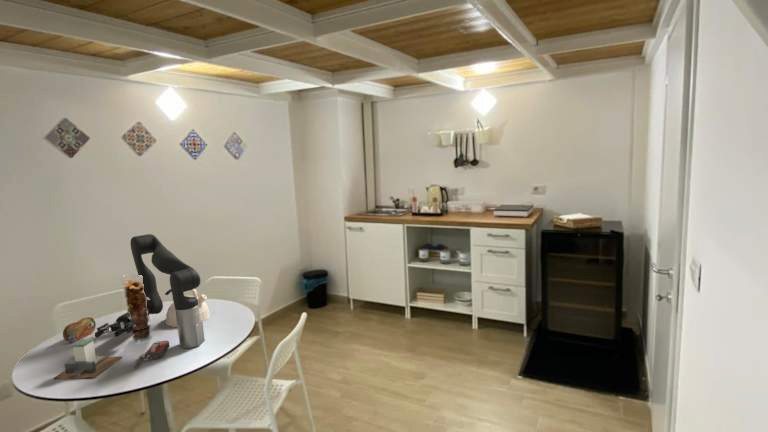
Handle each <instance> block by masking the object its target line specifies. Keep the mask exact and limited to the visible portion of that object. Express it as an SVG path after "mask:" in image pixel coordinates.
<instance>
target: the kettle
mask: <svg viewBox="0 0 768 432" xmlns="http://www.w3.org/2000/svg"><path fill="white" fill-rule="evenodd" d="M190 291H191V292H192V294H193V295H188V296H189V297H196V298H197V299H198V306H199V314H200V320H202V322H205V321H206V320H207V319H209V317H210V316H211V315H210V314H211V313H210V311H209V306H208V304H207V303H206V300H207V299H208V297H207V295H206V294H202V293H201V294H200V296H198V292H197V290H196V288H195V289H193V290H190ZM171 293H172V291H171V288H170V289H168V290H167V291H166V292H165V293H164V295H165V296H169V295H170V294H171ZM166 311H167V312H166V314H165V320H166V321H165V322H166V325H167V326H168V327H174V328H177V321H176V313H175V305H174V302H172V303H171V304H170V305H169V307H168V309H167V310H166Z"/></svg>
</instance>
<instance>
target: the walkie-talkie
mask: <svg viewBox="0 0 768 432" xmlns="http://www.w3.org/2000/svg"><path fill="white" fill-rule="evenodd" d="M169 348H170V341H169V340H160V341H155V342H153V343H152V344H151V346H150V347H149V348H148V349H146V350H144V351H142V353H141V354H140V355H138V360H137V361H136V363H135V364H134V365H133V368H134V369H136V368H138V367H139V365H140V363H141V362H142V361H150V360H151V361H152V360H158V359H162V358H163V357H164V356H165V355H166V352H167V351H168V350H169Z"/></svg>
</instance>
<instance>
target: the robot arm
mask: <svg viewBox="0 0 768 432" xmlns="http://www.w3.org/2000/svg"><path fill="white" fill-rule="evenodd" d="M129 244H130V250H131V255H132V258H133V262H134V266H135V268H136V272H137V275H142V276H143V284H144V292H145V294H146V298H148V299H146V300H147V311H148V317H149V316H150V315H157V314H160V313H161V312H162V310H163V308H164V303H163V300H162V298H161V296H160V293H159V291H158V288H157V279H156V275H155V274H154V272H152V271H151V269H150V268H149V267H148V266H147V265H146V263H144V260H143V257H142V255H146V254H152V255H151V260H150V261H151V264H152V266H153V267H155V269H156V270H158V271H159V272H161V273H163V274H165V275H169V286H170V289H171V291H172V292H171V294H172V295H171V296H172V301H173V302H174V305H175V313H176V321H177V327H176V328H177V336H178V341H179V347H180V348H181V349H193V348H197V347H200V346H201V344H203V343H204V342H205V341H206V339H205V338H206V337H205V332H204V331H205V330H204V323H203V322H204V321H202V320H200V314H199V306H198V299H197V298H196V297H189V296H190V295H185V292H188V291H191V290H193V289H195V290H196V289H197V288H199V286H200V285H201V277H200V274H199V273H198V271H197V270H196V269H194V268H193V267H192V266H190V265H189V264H186V263H185V262H183V261H182V260H181V259H180V258H178V257H177V256H176V255H175V254H174V253H173V252H171V251H170V250H169V249H167V247H165V246H164V244H163V243H162V242H161V241H160V240H159V239H158V238H157V237H156V235H154V234H151V233H150V234H149V233H147V234H143V235H142V234H141V235H135V236H133V237H132V238H131V239H130V243H129ZM173 302H172V303H173ZM136 328H137V326H136V322H134V320H133V318H132V317H131V315H130V314H129V312H128V311H127V312H125V313H123V314H121V315H120V316H118V317H117V318H116V320H115V321H114V322H112V323H111V324H109V322H106V323H105V324H102V325H101V326H98V327H96V330H97V331H96V332H94V338H95V339H96V338H97V339H98V338H99V337H101V336H103V335H105V334H111V333H113V334H114V337H115V338H117V337H119V336H121V335H123V334H125V333H127V334H129V333H131V332H132V331H134V330H135V329H136Z"/></svg>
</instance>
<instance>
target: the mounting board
mask: <svg viewBox="0 0 768 432" xmlns="http://www.w3.org/2000/svg"><path fill="white" fill-rule="evenodd" d="M105 357H106V358H105V359H103V360H102V361H101V362H99V363H98V364H96V365H95V366H96V371H95V372H94V373H84V374H82V375H81V376H71V374H72V373H68V374H66V371H65V370H63V371H62V372H59V373H58V374H57V375H56V376H54V377H53V380H76V379H77V380H79V379H80V380H81V379H82V380H83V379H84V380H85V379H96V378H98V376H100V375H101V374H102V373H104V372H106V370H108V369H109V368H110V367H111V366H114V364H116V363H117V362H118V361H119V360H121V359H122V358H123V356H119V355H118V356H117V355H116V356H115V355H114V356H105Z"/></svg>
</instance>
